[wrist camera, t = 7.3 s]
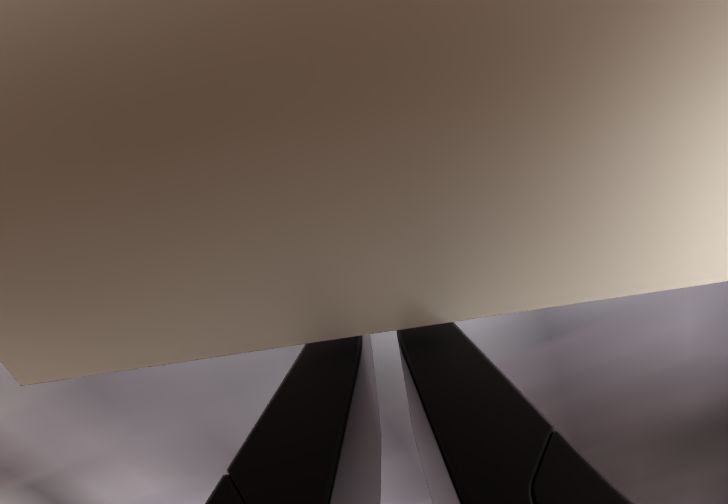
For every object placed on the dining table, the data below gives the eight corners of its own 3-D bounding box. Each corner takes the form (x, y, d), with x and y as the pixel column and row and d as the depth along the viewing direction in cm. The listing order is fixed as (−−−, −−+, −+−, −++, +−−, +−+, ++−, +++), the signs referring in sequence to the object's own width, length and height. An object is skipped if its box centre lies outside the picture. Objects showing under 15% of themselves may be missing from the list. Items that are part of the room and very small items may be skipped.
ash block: (633, 108, 10) (833, 264, 6) (135, 187, 11) (21, 385, 7) (711, -343, 7) (1297, -655, 3) (-46, -201, 7) (-541, -288, 3)
